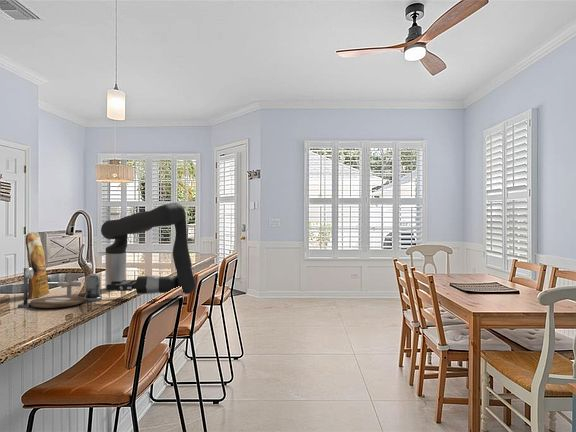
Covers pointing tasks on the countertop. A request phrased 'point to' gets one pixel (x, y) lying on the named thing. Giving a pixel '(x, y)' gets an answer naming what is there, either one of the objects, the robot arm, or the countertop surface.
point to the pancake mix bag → (36, 266)
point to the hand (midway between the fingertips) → (109, 285)
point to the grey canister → (92, 288)
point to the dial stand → (26, 287)
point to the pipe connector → (69, 284)
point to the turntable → (56, 301)
